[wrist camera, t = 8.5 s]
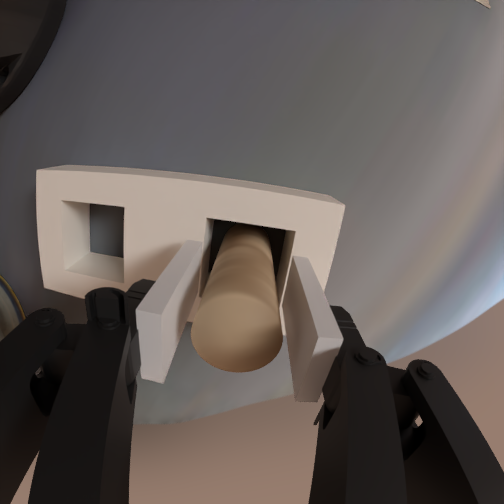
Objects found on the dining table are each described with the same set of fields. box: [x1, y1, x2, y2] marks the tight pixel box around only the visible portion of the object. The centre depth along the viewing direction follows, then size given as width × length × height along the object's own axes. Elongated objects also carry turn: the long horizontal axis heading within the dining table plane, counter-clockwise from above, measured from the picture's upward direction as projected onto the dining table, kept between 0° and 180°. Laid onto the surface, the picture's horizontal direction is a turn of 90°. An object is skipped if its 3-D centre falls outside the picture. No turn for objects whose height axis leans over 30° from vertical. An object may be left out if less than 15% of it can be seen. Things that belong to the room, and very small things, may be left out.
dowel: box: [191, 223, 283, 372], centre depth 14 cm, size 3×3×10 cm
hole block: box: [36, 165, 345, 335], centre depth 17 cm, size 18×8×4 cm, turn 81°
